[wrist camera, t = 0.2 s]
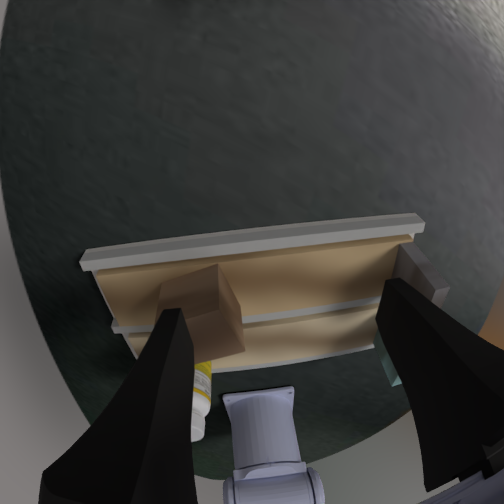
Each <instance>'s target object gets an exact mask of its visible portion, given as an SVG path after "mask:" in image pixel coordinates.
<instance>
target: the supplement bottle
mask: <svg viewBox="0 0 504 504" xmlns="http://www.w3.org/2000/svg"><path fill="white" fill-rule="evenodd" d="M194 365H195V375H194V389H193V404H192V419H191V442H193V441H198V440H200V439H202V438H203V436H204V429H205V418H204V417H205V416H206V415H207V414H208V412H209V410H210V405H211V367H212V360H211V361H207V362H203V363H199V364H194Z"/></svg>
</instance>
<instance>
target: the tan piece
mask: <svg viewBox="0 0 504 504" xmlns="http://www.w3.org/2000/svg"><path fill="white" fill-rule="evenodd" d="M379 303H380V302H379ZM379 303H374V304H369V305H363V306H358V307H352V308H347V309H341V310H335V311H329V312H323V313H316V314H310V315H303V316H297V317H290V318H282V319H275V320H267V321H259V322H251V323H243V333H244V342H245V352H242V353H238V354H234V355H231V356H227V357H223V358H219V359H215V360H212V367H211V369H218V368H229V367H239V366H248V365H256V364H264V363H272V362H279V361H286V360H292V359H299V358H305V357H311V356H316V355H322V354H328V353H333V352H338V351H343V350H348V349H353V348H357V347H362V346H366V345H371V344H374V347H375V349H376V351H377V353H378V356H379V358H380V360H381V362H382V365H383V367H384V369H385V372H386V374H387V376H388V379H389V381H390V384H391V386H395V385H398V384H401V383H402V382H401V380H400V378H399V376H398V374H397V371H396V369H395V367H394V365H393V363H392V361H391V359H390V357H389V354H388V352H387V350H386V348H385V346H384V344H383V341H382V338H381V335H380V333H379V330H378V326H377V323H376V320H375V317H376V314H377V310H378V307H379ZM150 334H151V332H136V333H129V336H128V339H129V341H130V343H131V345H132V347H133V348H134V350H135V352H136V354H137V356H138V357H139V355H140V353H141V351H142V349H143V347H144V346H145V344H146V342H147V340H148V338H149V336H150Z"/></svg>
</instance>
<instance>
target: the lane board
mask: <svg viewBox="0 0 504 504" xmlns="http://www.w3.org/2000/svg"><path fill="white" fill-rule="evenodd" d="M424 226H425V222H424V221H423V220H422V219H421V218H420V217H419V216H418V215H417V214H416V213H405V214H393V215H381V216H370V217H358V218H347V219H337V220H326V221H316V222H306V223H296V224H287V225H277V226H268V227H259V228H250V229H241V230H232V231H223V232H215V233H206V234H198V235H190V236H182V237H174V238H166V239H158V240H151V241H143V242H136V243H128V244H121V245H114V246H106V247H99V248H92V249H86V251H85V252H84V254H83V256H82V258H81V260H80V261H79V263H80V265H81V267H82V269H83V271H90V270H91V271H92V273H93V276H94V278H95V280H96V282H97V285H98V287H99V289H100V291H101V293H102V295H103V297H104V299H105V302H106V304H107V306H108V308H109V310H110V312H111V314H112V316H113V322H112V325H111V328H112V330H113V331H114V333H122V335H123V337H124V338H125V340H126V342H127V344H128V346H129V347H130V349H131V351H132V353H133V354H134V356H135V358H136V360H137V358H138V356H137V354H136V352H135V350H134V348H133V347H132V345H131V343H130V341H129V339H128V336H129V333H136V332H152V330H153V328H154V325H140V326H122V327H120V326H119V324H118V322H117V320H116V318H115V316H114V314H113V312H112V310H111V308H110V306H109V304H108V302H107V300H106V298H105V296H104V293H103V291H102V289H101V287H100V285H99V283H98V280H97V278H96V274H97V272H98V270H99V269H108V268H117V267H125V266H134V265H143V264H151V263H160V262H169V261H177V260H186V259H195V258H204V257H212V256H221V255H230V254H238V253H247V252H256V251H264V250H273V249H282V248H291V247H299V246H308V245H317V244H325V243H334V242H343V241H351V240H360V239H369V238H378V237H386V236H395V235H404V234H409V235H410V236H411V237H412V238H414V233H421V232H423V230H424ZM381 296H382V295H381ZM381 296H376V297H370V298H365V299H359V300H353V301H347V302H342V303H335V304H329V305H323V306H316V307H310V308H303V309H296V310H289V311H282V312H274V313H266V314H258V315H250V316H242V324H243V323H251V322H259V321H267V320H275V319H282V318H290V317H297V316H303V315H310V314H316V313H323V312H329V311H335V310H341V309H347V308H352V307H358V306H363V305H369V304H374V303H379V302H380V299H381ZM370 348H374V344H371V345H366V346H362V347H357V348H353V349H348V350H343V351H338V352H333V353H328V354H322V355H316V356H311V357H305V358H299V359H292V360H286V361H279V362H272V363H264V364H256V365H248V366H239V367H229V368H218V369H211V373H217V372H228V371H238V370H247V369H256V368H264V367H271V366H278V365H285V364H292V363H298V362H304V361H310V360H316V359H322V358H327V357H332V356H337V355H342V354H347V353H352V352H357V351H361V350H366V349H370Z"/></svg>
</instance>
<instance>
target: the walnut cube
mask: <svg viewBox="0 0 504 504" xmlns="http://www.w3.org/2000/svg"><path fill="white" fill-rule="evenodd" d="M172 308H181V309H182V312H183V315H184V318H185V321H186V324H187V327H188V330H189V333H190V336H191V339H192V342H193V345H194V364H199V363H203V362H207V361H211V360H215V359H219V358H223V357H227V356H231V355H234V354H238V353H242V352H245V342H244V333H243V324H242V314H241V306H240V304H239V302H238V300H237V298H236V296H235V295H234V293H233V291H232V289H231V287H230V285H229V283H228V281H227V279H226V278H225V276H224V274H223V272H222V270H221V268H220V266H219V264H215V265H212V266H209V267H206V268H203V269H200V270H197V271H194V272H191V273H188V274H185V275H183V276H180V277H177V278H174V279H171V280H168V281H165V282H162V285H161V290H160V295H159V301H158V306H157V312H156V317H155V323H154V326H155V324H156V322H157V320H158V318H159V316H160V314H161V312H162V311H163V310H164V309H172Z"/></svg>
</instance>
